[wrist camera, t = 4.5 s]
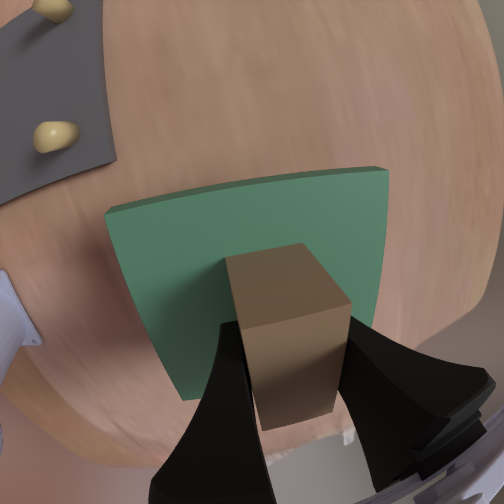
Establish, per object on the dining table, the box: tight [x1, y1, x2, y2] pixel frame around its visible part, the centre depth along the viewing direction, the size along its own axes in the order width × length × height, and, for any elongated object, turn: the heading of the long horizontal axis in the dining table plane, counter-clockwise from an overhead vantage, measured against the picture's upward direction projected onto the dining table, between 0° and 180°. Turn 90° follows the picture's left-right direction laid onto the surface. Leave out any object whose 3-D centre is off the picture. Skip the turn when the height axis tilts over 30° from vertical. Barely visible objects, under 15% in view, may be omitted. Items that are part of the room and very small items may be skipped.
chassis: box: [0, 0, 117, 205], centre depth 9 cm, size 14×14×4 cm
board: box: [104, 166, 389, 431], centre depth 10 cm, size 11×11×5 cm
